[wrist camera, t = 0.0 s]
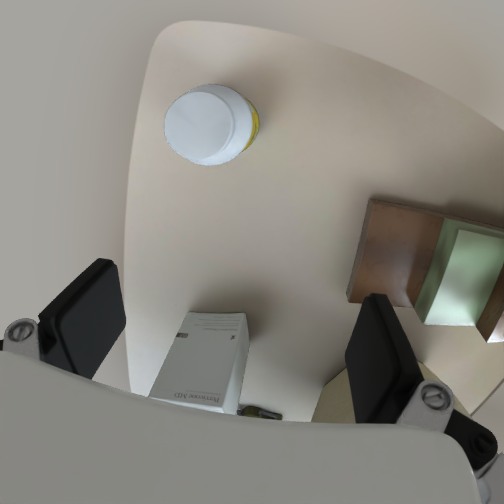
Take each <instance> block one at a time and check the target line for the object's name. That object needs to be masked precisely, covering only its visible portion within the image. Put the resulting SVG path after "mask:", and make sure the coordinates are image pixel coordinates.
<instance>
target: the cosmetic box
mask: <svg viewBox="0 0 504 504" xmlns="http://www.w3.org/2000/svg"><path fill="white" fill-rule="evenodd" d="M249 348H250V340H249V333H248V326H247V320H246V314H245V313H226V314H217V313H196V312H188V313H187V314H186V317H185V319H184V321H183V323H182V325H181V327H180V329H179V331H178V333H177V335H176V337H175V339H174V342H173V344H172V346H171V348H170V350H169V352H168V354H167V356H166V359H165V361H164V363H163V365H162V367H161V369H160V371H159V374H158V376H157V378H156V380H155V382H154V384H153V387H152V389H151V391H150V393H149V396H148V397H149V398H153V399H157V400H161V401H165V402H169V403H173V404H178V405H182V406H187V407H192V408H197V409H202V410H208V411H213V412H219V413H225V414H232V415H236V414H237V409H238V404H239V399H240V394H241V389H242V383H243V378H244V373H245V368H246V363H247V358H248V353H249Z"/></svg>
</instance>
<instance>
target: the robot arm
mask: <svg viewBox="0 0 504 504" xmlns="http://www.w3.org/2000/svg"><path fill="white" fill-rule="evenodd" d="M38 317H39V320H40V322H39V323H38V324H37V323H36V322H35V321H34V320H32V319H29V318H23V319H19V320H16V321H14V322H13V323H11V324H10V325H9V326H8V327H7V329H6V330H5V334H4V339H3V340H0V504H504V454H503V453H500V454H498V453H497V449H498V445H497V440H496V438H495V436H494V435H493V434H492V432H491V431H489V430H488V429H486V428H485V427H483V426H481V425H480V424H478V423H477V422H475V421H473V420H472V419H470V418H469V417H467V416H465V415H464V414H462V413H460V412H459V411H457V410H456V409H454V405H455V397H454V394H453V392H452V390H451V389H450V388H449V387H448V386H447V385H445V384H444V383H443V382H440V381H438V380H432V379H430V380H425V379H424V377H423V374H422V372H421V369H420V367H419V364H418V362H417V360H416V357H415V355H414V352H413V350H412V348H411V345H410V343H409V341H408V339H407V336H406V334H405V332H404V331H403V329H402V326H401V324H400V322H399V320H398V318H397V316H396V313H395V311H394V309H393V307H392V305H391V303H390V301H389V299H388V297H387V295H386V294H378V293H371V294H370V295H369V297H368V296H366V297H365V298H364V300H363V303H362V306H361V309H360V312H359V315H358V318H357V321H356V324H355V327H354V330H353V332H352V335H351V338H350V341H349V343H348V346H347V349H346V352H345V362H346V367H347V373H348V378H349V384H350V390H351V396H352V402H353V409H354V415H355V422H356V424H342V423H314V422H296V421H282V420H272V419H262V418H254V417H246V416H239V415H232V414H225V413H219V412H213V411H208V410H202V409H197V408H192V407H187V406H182V405H178V404H173V403H169V402H165V401H161V400H157V399H153V398H149V397H145V396H141V395H138V394H134V393H131V392H127V391H124V390H120V389H117V388H114V387H111V386H108V385H105V384H102V383H99V382H96V381H93V380H91V379H92V377H93V376H94V374H95V373H96V371H97V370H98V368H99V366H100V365H101V363H102V362H103V360H104V358H105V357H106V355H107V354H108V352H109V351H110V349H111V348H112V346H113V345H114V343H115V341H116V340H117V338H118V337H119V335H120V334H121V332H122V331H123V329H124V328H125V325H126V316H125V311H124V305H123V300H122V294H121V289H120V282H119V276H118V269H117V266H116V265H115V264H114V262H113V261H112V260H109V259H102V258H98V259H97V260H96V261H95V262H93V263H92V264H91V265H90V266H89V267H88V268H87V269H86V270H85V271H84V272H82V273H81V274H80V275H79V276H78V277H77V278H76V279H75V280H74V281H73V282H72V283H70V285H68V286H67V287H66V288H65V289H64V290H63V291H62V292H61V293H60V294H59V295H58V296H57V297H56V298H55V299H54V300H53V301H52V302H51V303H50V304H49V305H48V306H47V307H46V308H45V309H44V310H43V311H42V312H41V313H40V314H39V315H38Z"/></svg>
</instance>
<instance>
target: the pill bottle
mask: <svg viewBox="0 0 504 504" xmlns="http://www.w3.org/2000/svg"><path fill="white" fill-rule="evenodd" d="M258 130H259V117H258V114H257V111H256V109H255V108H254V106H253V105H252V104H251V103H250V102H249V101H248V100H247V99H246V98H244V97H243V96H241V95H240V94H238V93H237V92H235V91H234V90H232V89H230V88H228V87H225V86H222V85H215V84H208V85H202V86H198V87H196V88H194V89H191V90H190V91H188V92H187V93H185V94H184V95H183V96H181V97H179V98H178V99H177V100H176V101H175V102H173V104H172V105H171V106H170V108H169V109H168V111H167V113H166V116H165V120H164V133H165V137H166V140H167V142H168V144H169V145H170V147H171V148H172V149H173V150H174V151H175V152H176V153H177V154H179V155H180V156H182V157H184V158H186V159H187V160H189V161H191V162H193V163H196V164H199V165H206V166H212V165H219V164H223V163H225V162H228V161H230V160H231V159H233V158H234V157H236V156H237V155H238V154H240V153H241V152H242V151H244V150H245V149H247V148H248V147H249V146H250V145H251V144H252V143H253V141H254V140H255V138H256V136H257V133H258Z"/></svg>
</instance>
